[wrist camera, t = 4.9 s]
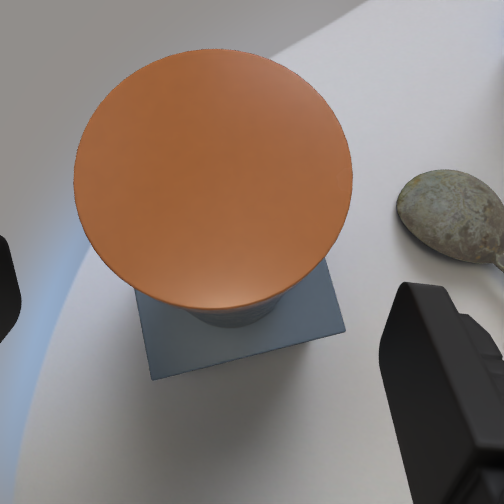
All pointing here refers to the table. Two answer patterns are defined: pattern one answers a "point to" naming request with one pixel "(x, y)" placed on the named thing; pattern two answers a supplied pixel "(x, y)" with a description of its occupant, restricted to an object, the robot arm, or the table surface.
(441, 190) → the soupspoon
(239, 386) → the table surface
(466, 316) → the robot arm
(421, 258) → the table surface
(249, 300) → the tin
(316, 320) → the lidded box
